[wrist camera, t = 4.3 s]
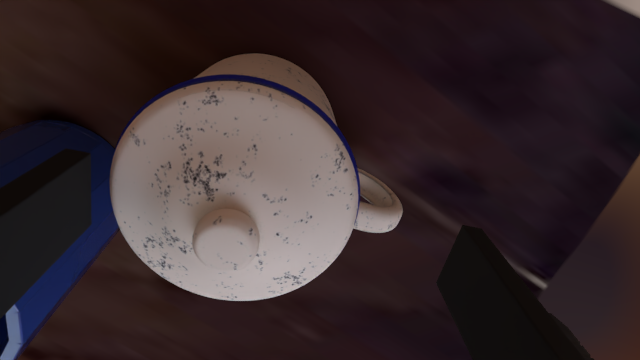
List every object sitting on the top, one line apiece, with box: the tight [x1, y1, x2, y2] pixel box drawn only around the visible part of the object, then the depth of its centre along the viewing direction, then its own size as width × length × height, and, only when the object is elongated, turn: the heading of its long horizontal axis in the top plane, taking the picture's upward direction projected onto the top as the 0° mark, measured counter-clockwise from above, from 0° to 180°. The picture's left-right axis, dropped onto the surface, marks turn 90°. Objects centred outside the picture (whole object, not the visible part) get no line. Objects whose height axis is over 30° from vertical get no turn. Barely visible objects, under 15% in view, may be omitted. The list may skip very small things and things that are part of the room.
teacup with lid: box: [109, 53, 403, 301], centre depth 17 cm, size 12×9×12 cm
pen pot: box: [0, 120, 120, 360], centre depth 18 cm, size 8×8×10 cm
